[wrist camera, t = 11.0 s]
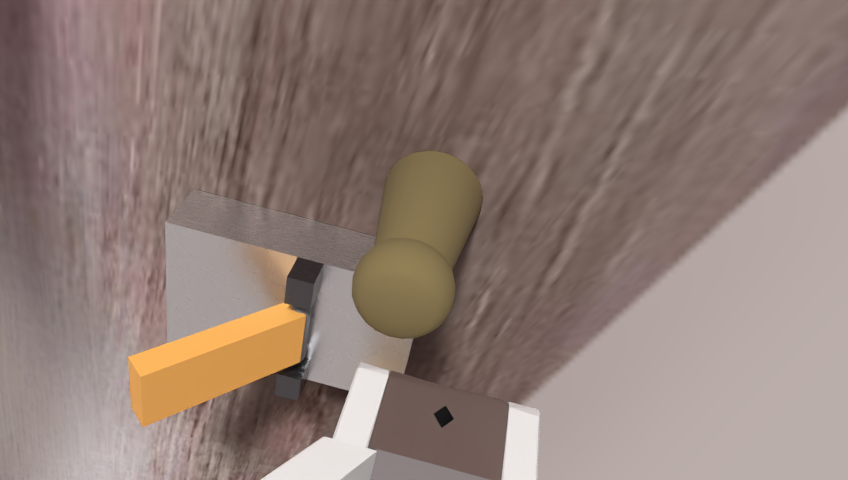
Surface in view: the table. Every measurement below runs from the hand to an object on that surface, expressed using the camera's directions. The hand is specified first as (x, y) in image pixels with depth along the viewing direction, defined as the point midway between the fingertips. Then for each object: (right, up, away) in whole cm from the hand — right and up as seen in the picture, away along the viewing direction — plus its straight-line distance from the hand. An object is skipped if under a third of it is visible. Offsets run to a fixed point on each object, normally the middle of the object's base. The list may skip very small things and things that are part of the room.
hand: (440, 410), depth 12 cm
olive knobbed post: (0, +6, +32) cm, 32 cm away
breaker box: (-8, 0, +37) cm, 38 cm away
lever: (-8, -3, +33) cm, 34 cm away
